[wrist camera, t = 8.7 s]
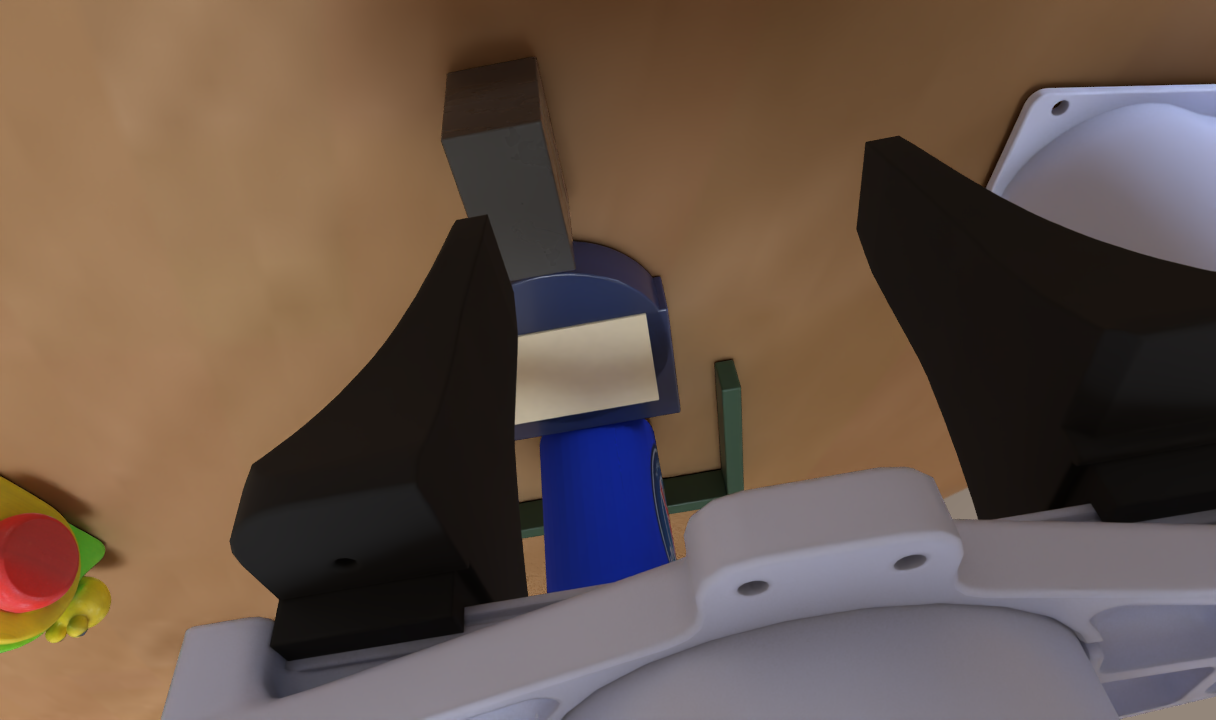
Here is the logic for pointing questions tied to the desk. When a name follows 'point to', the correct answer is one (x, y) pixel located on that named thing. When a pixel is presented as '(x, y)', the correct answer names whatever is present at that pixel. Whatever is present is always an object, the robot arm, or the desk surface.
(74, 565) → the toy measuring tape
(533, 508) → the green u-shaped bracket
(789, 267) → the desk surface
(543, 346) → the blue stamp
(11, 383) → the desk surface
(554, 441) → the beverage can
